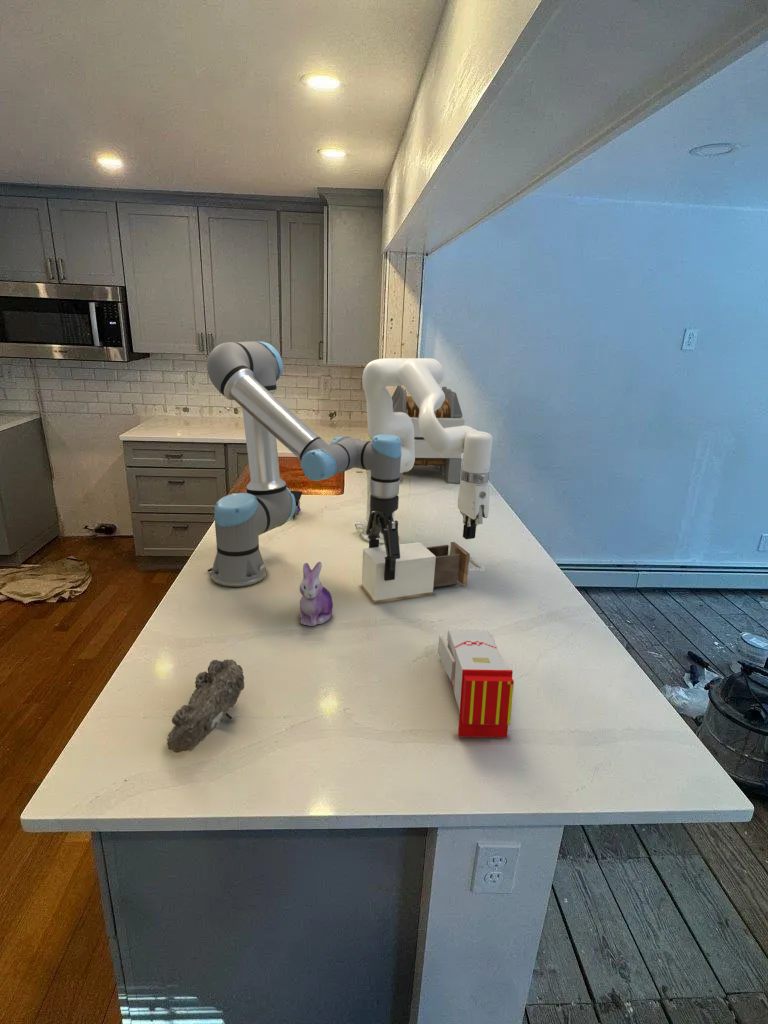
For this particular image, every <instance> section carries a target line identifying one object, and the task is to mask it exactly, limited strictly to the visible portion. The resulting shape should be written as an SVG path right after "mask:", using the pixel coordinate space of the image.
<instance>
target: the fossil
mask: <svg viewBox="0 0 768 1024" xmlns="http://www.w3.org/2000/svg"><path fill="white" fill-rule="evenodd" d="M243 670H244V669H243V667H242V665H240V664H237V662H236V661H235V660H234V659H232V658H231V659H227V658H226V659H224V660H223V661H222V660H217V659H212V660H211V661H210V663H209V665H208V666H207V671H201V672H199V673H198V674H197V675H196V676H195V680H194V684H195V685H194V687H195V689H194V690H193V693H192V694H191V697H190V698H189V700H188V704H184V705H182V706H181V707H180V709H177V710H176V711H175V713H174V715H173V716H172V718H171V723H172V724H173V727H172V730H171V731H170V732H168V734H167V738H166V741H167V742H166V745H167V749H168V750H169V751H173V752H174V753H176V754H178V753H182V752H188V751H189V752H192V751H193V750H195V748H196V747H197V746H199V744H200V743H201V742H203V741H204V740H205V739H206V738H207V737H208V736H209V735H210V734H211V733H212V732H214V730H215V729H217V727H218V726H219V724H220V722H221V721H222V720H223V719H224V718H225V716H226V717H227V719H229V720H233V717H232V715H230V714H229V710H230V709H231V708H234V706H235V704H236V703H237V702H238V699H239V697H240V695H241V693H242V691H243V690H245V689H244V688H245V675H244V671H243Z"/></svg>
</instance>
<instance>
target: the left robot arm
mask: <svg viewBox="0 0 768 1024" xmlns="http://www.w3.org/2000/svg"><path fill="white" fill-rule="evenodd" d="M283 370H284V364H283V360H282V356H281V355H280V353H279V351H278V349H276V348H275V347H274V346H273V345H271V344H270V343H268V342H266V341H259V340H258V341H257V340H251V341H236V342H235V341H227V342H223V343H220V344H218V345H217V346H215V347H214V348H213V349H212V350H211V351H210V353H209V355H208V357H207V360H206V371H207V375H208V378H209V380H210V381H211V384H212V385H213V387H215V389H216V390H217V391H218V392H219V393H220V394H221V395H222V396H223V397H224V398H225V399H227V400H228V401H234V402H236V403H237V404H238V405H239V406H240V407H241V409H242V419H243V425H244V434H245V442H246V443H245V444H246V451H247V460H248V468H249V469H248V470H249V479H250V481H249V482H248V483H247V485H246V487H245V488H246V489H245V490H246V492H237V493H231V494H230V493H229V494H227V495H225V496H223V497H221V498H219V499H218V501H216V503H215V505H214V514H213V515H214V516H213V519H214V528H215V529H214V531H215V543H216V554H215V558H214V561H213V565H212V567H211V568H208V569H207V572H208V573H210V572H211V580H212V581H213V582H214V583H215V584H217V585H220V586H223V587H227V588H243V587H249V586H252V585H253V586H254V585H255V584H258V583H260V582H261V581H263V580H264V579H265V578H266V577H267V567H266V562H265V561H264V558H263V556H262V554H261V551H260V544H259V543H260V540H259V538H260V537H259V536H261V535H263V534H265V533H267V532H269V531H272V530H274V529H276V528H279V527H282V526H283V525H285V524H286V523H287V522H289V521H290V520H291V519H293V515H294V512H295V508H296V502H295V497H294V495H293V494H292V493H291V491H292V490H291V489H290V488H288V487H287V482H286V481H285V480H284V479H282V478H281V471H280V463H279V461H280V460H279V452H278V443H277V440H278V441H279V442H280V443H281V444H282V445H283V446H284V447H285V448H287V449H288V450H289V452H291V453H292V454H293V455H294V456H295V457H296V458H297V459H299V460H300V468H301V470H302V472H303V475H304V476H305V477H306V478H307V479H308V480H310V481H314V482H319V481H324V480H329V479H331V478H333V477H334V476H336V475H338V474H342V473H344V472H347V471H349V470H353V469H360V470H365V471H366V470H371V481H370V493H371V495H370V516H369V521H368V525H367V530H366V534H367V535H369V536H368V538H369V539H370V540H369V542H368V548H374V547H380V543H379V539H376V538H380V536H379V534H380V532H381V534H383V537H384V543H383V544H384V546H385V548H386V554H387V557H385V575H384V580H385V581H388V580H395V565H396V559H400V549H399V544H400V540H399V521H398V520H394V521H393V516H392V513H393V512H394V511H395V512H396V511H398V510H399V500H400V497H399V493H400V486H401V484H402V482H400V464H401V456H402V453H401V440H400V438H399V437H397V436H394V435H385V434H380V435H375V436H374V437H373V438H372V441H371V440H365V439H361V438H356V437H355V438H354V437H351V436H340V435H339V436H336V437H334V438H333V440H332V441H330V443H328V442H326V441H325V440H324V439H323V438H322V437H321V436H319V435H318V434H317V433H316V432H315V431H314V430H313V429H311V427H309V426H308V425H307V424H306V423H305V422H303V420H301V419H300V418H299V417H298V416H297V415H296V414H295V413H294V412H293V411H291V409H289V408H288V407H287V406H286V405H285V404H284V403H283V402H281V401H280V400H279V399H278V398H277V397H276V396H275V395H274V394H275V393H276V392H277V391H278V388H277V381H278V380H279V379H280V378H281V376H282V374H283V372H284V371H283ZM395 512H394V513H395ZM370 529H371V530H370Z"/></svg>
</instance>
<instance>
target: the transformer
mask: <svg viewBox="0 0 768 1024" xmlns="http://www.w3.org/2000/svg"><path fill="white" fill-rule="evenodd" d="M441 389H442V391H443V392H444V394H445V400H444V402H443V404H442V405H441V406H440V407H439V408H438V409H437V410H436V411H435V412H434V414H435V416H436V418H437V420H438V421H439V423H440V424H441V426H442V427H443V428H448V427H457V426H465V419H464V418H463V411H462V408H461V405H460V402H459V398H458V395H457V392H455V391H453V390H452V389H451V388H447V386H442V387H441ZM407 394H408V392H407V390H406V389H404V388H403V387H402V386H396V388H395V390H394V392H393V394H392V395H391V398H392V401H393V413H394V412H403V413H406V414H407V415H408V416H409V417H410V418H411V420H412V423H413V426H414V444H415V462H414V466H413V467H415V466H416V467H417V466H418V467H436V468H437V470H438V469H439V473H440V474H441V475H443V478H444V479H445V481H446V482H447V483H449V484H455V483H456V484H459V483H461V474H462V463H463V457H462V453H457V454H451V455H445V456H442V455H438V454H436V453H435V452H434V451H433V450H432V449H431V448H430V447H429V445H428V444H427V442H426V441H425V439H424V438H423V436H422V434H421V432H420V428H419V413H420V410H419V408H418V406H417V405H416V403H415V402H414V400H413V399H412V397H411V396H410V395H407ZM403 475H404V472H403V473H400V482H401V483H402V482H403Z"/></svg>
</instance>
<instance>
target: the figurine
mask: <svg viewBox="0 0 768 1024" xmlns="http://www.w3.org/2000/svg"><path fill="white" fill-rule="evenodd" d="M322 564H323V563H322V561H318V562H317V563H316V564H315V565H314V566H313V568H312V569H311V566H310V565H309V563H307V562H305V563H303V566H302V572H303V577H302V580H301V582H300V585H299V592H300V594H301V598H300V600H299V609H300V613H299V614H300V615H299V618H300V624H302V625H304V626H309V627H314V626H317V625H322V624H324V623H326V622H328V621H329V620H330V619H331V617H332V615H333V609H334V608H333V607H334V603H333V597H332V594H331V592H330V591H329V590H328V589H327V588H326V587H325V586H323V584H322V581H321V579H320V574H321V571H322V566H323V565H322Z"/></svg>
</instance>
